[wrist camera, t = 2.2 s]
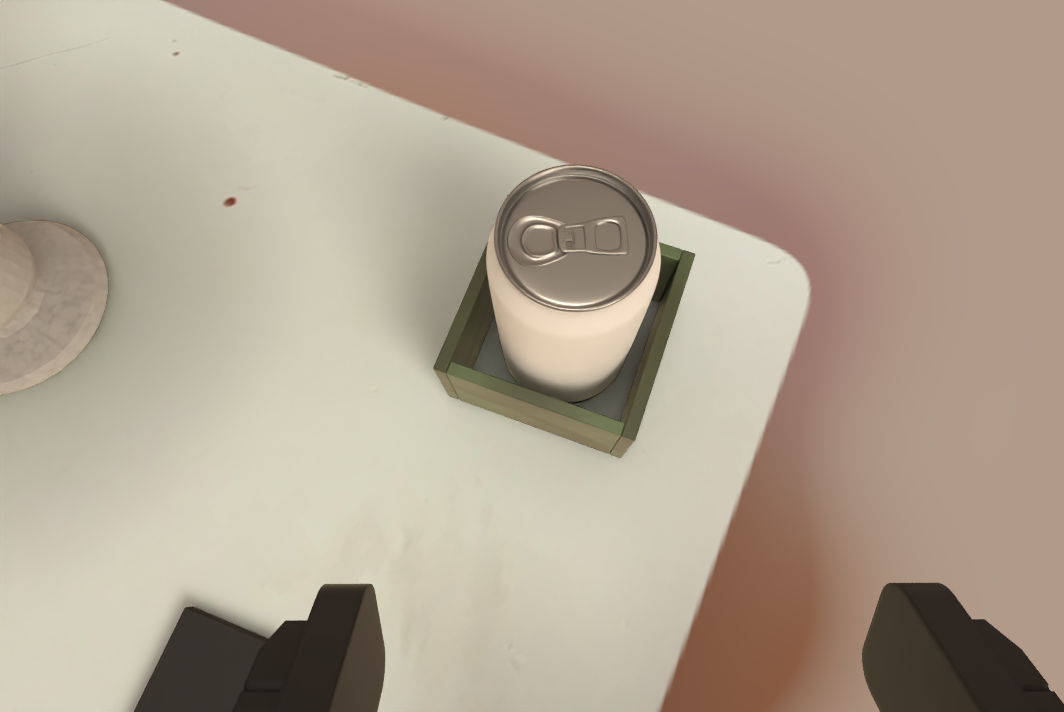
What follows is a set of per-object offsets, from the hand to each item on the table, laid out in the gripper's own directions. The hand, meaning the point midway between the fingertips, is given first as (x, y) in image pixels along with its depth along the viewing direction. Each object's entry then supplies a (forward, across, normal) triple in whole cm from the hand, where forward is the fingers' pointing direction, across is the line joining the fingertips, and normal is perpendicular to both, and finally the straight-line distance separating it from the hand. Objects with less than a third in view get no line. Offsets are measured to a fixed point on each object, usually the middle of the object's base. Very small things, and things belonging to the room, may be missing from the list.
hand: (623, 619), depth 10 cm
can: (+23, 0, +7) cm, 24 cm away
